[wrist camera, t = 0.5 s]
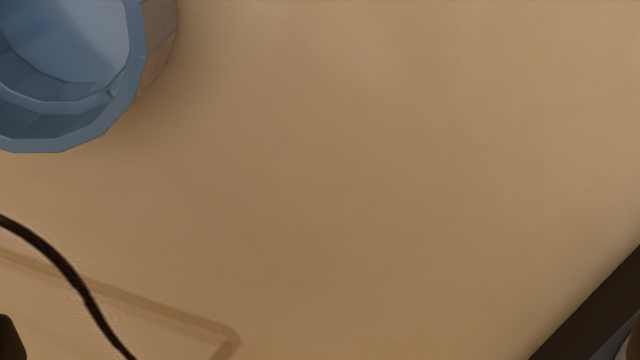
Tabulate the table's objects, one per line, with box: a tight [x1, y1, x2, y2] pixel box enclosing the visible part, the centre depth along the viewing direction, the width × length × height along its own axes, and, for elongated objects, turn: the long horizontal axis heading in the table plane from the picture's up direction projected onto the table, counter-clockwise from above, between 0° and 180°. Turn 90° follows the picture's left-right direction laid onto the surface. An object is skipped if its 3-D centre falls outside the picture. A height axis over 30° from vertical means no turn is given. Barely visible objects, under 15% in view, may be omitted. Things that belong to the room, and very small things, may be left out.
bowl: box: [0, 0, 178, 153], centre depth 18 cm, size 7×7×5 cm
